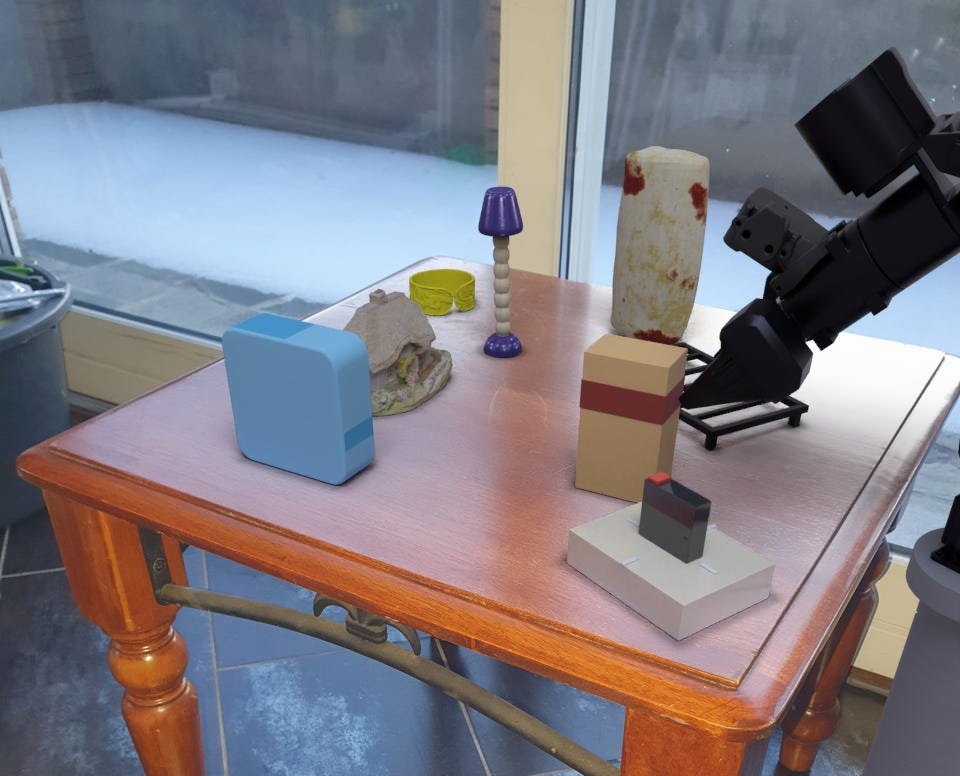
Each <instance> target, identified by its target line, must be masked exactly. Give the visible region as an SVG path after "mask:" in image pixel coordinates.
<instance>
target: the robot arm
mask: <svg viewBox="0 0 960 776" xmlns="http://www.w3.org/2000/svg"><path fill="white" fill-rule="evenodd" d="M793 126H794V128H795V129H796V130H797V132H798V133H799V135H800V136H801V138H802V139H803V141H804V143H805V144H806V145H807V146H808V148H809V149H810V151H811V152H812V154H813V155H814V157H815V158H816V160H817V161H818V162H819V164H820V165H821V167H822V169H823V170H824V171H825V173H826V174H827V175H828V177H829V178H830V180H831V181H832V182H833V184H834V185H835V188H836V189H837V190H838V191H839V193H840V194H841V195H842V197H844V196H847V195H848V194H849V193H851V192H852V194H853V195H854V197H855V198H858V197H860V196H861V195H863V197H864V198H865V200H869V199H870V198H871V197H873V196H874V195H875V196H876V194H877V193H879V192H880V191H882V190H883V189H884V188H886V187H887V186H889V185H890V184H891V183H892V182H894V181H895V180H897V178H899V177H901V176H902V175H903V174H904V173H905V172H907V170H909V169H910V168H912V167H913V166H914V167H915V169H916V171H917V172H918V173H916V174H914V175H913V176H912V177H911V178H909V179H908V180H906V181H905V182H904V183H902V184H901V185H900V186H899V187H897V188H896V189H894V190H893V191H892V192H890V193H889V194H888V195H886V196H885V197H884V198H882V199H881V200H880V201H878V202H877V203H876V204H875V205H873V206H871V208H869V209H868V210H866V211H865V212H864V213H862V214H861V215H860V216H858V217H857V218H855V219H854V220H853V218H851V219H849V221H846V220H845V219H842V220H841V221H840V222H839V223H837V224H836V225H835V226H833V227H832V228H830V229H829V230H828V229H827V228H825V227H824V226H823V225H821V223H819V222H817V221H816V220H815V219H814V218H813V217H812V216H811V215H809V214H807V212H805V211H803V210H802V209H800V208H798V207H797V206H796V205H794V204H793V203H791V202H789V201H788V200H787V199H785V198H784V197H782V196H780V195H779V194H777V193H776V192H775V191H773V190H772V189H769V188H766V187H763V186H759V187H758V188H756V189H755V190H754V191H753V192H752V193H750V194H749V195H748V196H747V198H746V199H745V201H744V202H743V204H742V206H741V207H740V209H739V211H738V213H737V214H736V216H735V217H734V218H733V219H732V220H731V223H730V226H729V227H728V229H727V230H726V232H725V234H724V235H723V237H722V240H723V243H724V244H725V245H726V246H727V247H728V248H730V249H731V250H733V251H734V252H735V253H739V252H741V253H742V254H744V255H745V256H747V257H748V258H749V259H751V260H753V261H755V262H756V263H758V264H759V265H760V266H762V267H763V268H765V269H767V270H768V271H770V272H769V274H768V275H766V278H765V282H764V287H763V288H764V289H763V294H762V298H761V297H756V298H754V299H753V300H752V301H750V302H749V303H747V304H746V305H745V306H744V307H742V308H741V309H740V310H739V311H737V312H736V313H735V314H734V315H733V316H732V317H730V319H729V320H728V321H727V322H726V323H725V324H724V326H723V327H721V329H720V331H719V336H718V339H719V342H720V348H718V349H719V350H717V351H716V352H715V353H714V355H713V357H714V361H713V362H712V363H711V364H710V365H709V366H708V367H707V368H706V369H705V370H704V371H703V372H700V373H699V375H698V376H697V377H696V379H694V381H692V382H691V383H692V384H691V385H690V386H689V387H688V388H687V389H686V390H685V391H684V392H683V393H682V394H681V395H680V397H679V402H680V403H681V404H682V406H683V407H684V408H683V409H685V410H695V409H701V408H703V409H704V408H709V407H715V406H720V405H721V406H722V405H729V404H739V403H743V402H748V401H758V400H763V401H764V402H770V403H772V404H774V405H777V404H778V403H781V402H780V401H782V400H783V399H785V398H786V397H788V396H791V395H793V394H795V393H796V392H797V391H799V390H800V389H801V387H802V385H803V383H804V382H805V380H806V379H807V377H808V375H809V374H810V372H811V367H812V362H813V358H814V352H813V351H812V350H811V348H810V346H809V345H808V344H807V343H808V342H811V341H813V342H814V344H815V345H816V346H817V348H818V349H819V351H820V352H823V351H824V350H825V349H827V348H828V347H830V346H831V345H833V344H834V343H835V341H836V340H837V338H838V337H839V335H840V333H842V332H844V331H845V330H847V329H848V328H850V327H851V326H852V325H854V324H856V323H857V322H858V321H861V320H862V319H863V318H865V317H866V316H867V315H869V314H870V313H871V314H872V316H873V317H875V316H877V315H879V314H880V313H881V312H883V311H884V310H886V309H887V308H888V307H889V305H890V304H891V302H892V299H893V298H894V297H896V296H897V295H899V294H900V293H902V292H903V291H905V290H906V289H908V288H909V287H910V286H913V285H914V284H915V283H917V282H919V281H920V280H921V279H923V278H924V277H926V276H927V275H929V274H930V273H932V272H934V270H936V269H938V268H939V267H941V266H942V265H944V264H946V262H948V261H949V260H951V259H953V258H954V257H956V256H958V255H959V254H960V182H959V183H957V184H955V185H954V184H953V182H952V181H951V180H950V179H949V178H948V176H947V175H949V176H952V177H955V178H959V179H960V110H958V111H956V112H953V113H941V114H939V115H938V116H937V115H936V113H935V111H933V109H932V107H931V106H930V104H929V103H928V101H927V100H926V98H925V97H924V95H923V94H922V92H921V91H920V89H919V88H918V86H917V85H916V83H915V81H914V80H913V79H912V77H911V75H910V72H909V70H908V66H907V64H906V61H905V59H904V58H903V56H902V54H901V53H900V52H899V51H898V49H897V47H896V46H889V47H888V48H887V49H885V50H884V51H883V52H882V53H881V54H880V55H878V56H877V57H876V58H875V59H874V60H873V61H872V62H870V63H869V64H868V65H867V66H865V67H864V68H863V69H862V70H861V71H859V73H857V74H856V75H855V76H854V77H853V78H851V77H849V78H847V79H846V80H845V81H843V82H842V83H841V84H839V85H838V86H837V87H836V88H834V89H833V90H832V91H831V92H830V93H828V95H826V96H825V97H824V98H823V99H822V100H820V101H819V103H817V104H816V105H815V106H814V107H813V108H811V109H810V110H809V111H807V113H806V114H804V115H803V116H802V117H801V118H800V119H799V120H797V122H795V124H793ZM957 453H958V456H959V458H960V439H959V441H958V450H957ZM944 527H945V528H944ZM944 527H943V528H944V531H943V534H942V537H941V543H942V544H944V546H942V547H940V548H938V549H936V550H934V551H933V552H932V553H931V556H930V558H931V560H933V561H935V562H937V563H939V564H941V565H943V566H945V567H947V568H949V569H951V570H953V571H955V572H957V573H959V574H960V493H958V494H956V495H955V496H954V498H953V501H952V504H951V508H950V510H949V513H948V516H947V520H946V522H945V525H944Z"/></svg>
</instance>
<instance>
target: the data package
mask: <svg viewBox="0 0 960 776" xmlns="http://www.w3.org/2000/svg"><path fill="white" fill-rule="evenodd" d="M221 347H222V353H223V359H224V366H225V372H226V378H227V384H228V385H227V386H228V390H229V398H230V403H231V409H232V410H231V411H232V416H233V423H234V427H235V428H234V430H235V435H236V441H237V444H238V445H237V446H238V448H240V451H241V452H242V453H243V455H245V456H246V457H247V458H248V459H250V460H252V461H255V462H257V463H261V464H264V465H267V466H271V467H274V468H278V469H280V470H285V471H288V472H291V473H293V474H298V475H301V476H304V477H308V478H311V479H314V480H317V481H321V482H324V483H327V484H331V485H335V486H336V485H337V486H338V485H341V484H343V483H344V482H346V481H347V480H349V479H350V478H352V477H353V476H354V475H356V474H357V473H359V472H360V471H362V470H363V469H365V468H366V467H368V466H369V465H370V464H372V463H373V461H374V459H375V455H376V452H375V451H376V448H375V438H374V437H375V435H374V420H373V416H372V404H371V389H370V374H369V359H368V351H367V348H366V346H365V344H364V342H363V341H362V339H361V338H360V337H359V336H357V335H356V334H354V333H352V332H348V331H343V329H339V328H334V327H330V326H325V325H321V324H316V323H313V322H312V323H311V322H307V321H303V320H298V319H294V318H290V317H285V316H281V315H276V314H272V313H269V312H267V313H266V312H262V313H260V314H257V315H255V316H253V317H251V318H248V319H246V320H244V321H242V322H240V323H237V324H234V325H233V326H230V327H228V328H226V329H225V330H224V332H223V333H222V337H221Z"/></svg>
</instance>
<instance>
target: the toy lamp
mask: <svg viewBox="0 0 960 776" xmlns="http://www.w3.org/2000/svg"><path fill="white" fill-rule="evenodd" d="M477 229H478V233H479V234H480V235H483V236H485V237H492V245H493V247H494V248H493V250H492V258H493V261H494V264H493V268H492V271H493V272H492V273H493V275H494V278H493V289H494V295H493V302H494V305H495V308H494V318H495V323H494V324H495V325H494V330H495V332H494V333H492V334H490V335H488V337H487V338H486V340H485V342H484V345H483V352H484V353H485V354H486V355H488V356H490V357H495V358H512V357H516V356H517V355H519V354H521V352H522V351H523V347H522V342H521V340H520V339H519V337H518V336H516V334H514V333H512V332H511V329H512V324H511V322H510V319H511V315H512V314H511V308H510V304H511V295H510V288H511V281H510V278H509V276H510V273H511V272H510V270H511V269H510V263H509V260H510V249H509V245H510V237H512V236H516V235H518V234H520V233H522V232H523V230H524V222H523V218H522V214H521V210H520V205H519V202H518V198H517V195H516V192H515V189H514V188H513V187H510V186H493V187H489V188H488V189H486V190H485V193H484V196H483V200H482V205H481V211H480V215H479V219H478V225H477Z"/></svg>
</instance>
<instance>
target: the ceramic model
mask: <svg viewBox="0 0 960 776" xmlns="http://www.w3.org/2000/svg"><path fill="white" fill-rule="evenodd" d="M368 298H369V299H368V300H369V301H368V302H366V303H364V304H362V306H358V308H356V310H355V312H354V314H353V316H352V317H351V319H350V320H349V321H348V322H347V323H346V325H345V326H344V327H343V329H342V330H343V331H348V332H352V333H354V334H356V335H357V336H359V337H360V338H361V339H362V341H363V342H364V344H365V346H366V348H367V351H368V359H369V374H370V389H371V404H372V417H373V416H374V417H375V416H376V417H379V416H380V417H381V416H383V417H384V416H390V415H396V414H402V413H407V412H409V411H412V410H414V409H416V408H417V407H419V406H420V405H422V404H423V403H425V402H426V401H428V400H430V399H431V398H432V397H434V396H435V395H436V394H437V393H438V392H440V391H441V390H442V389H443V388H444V387H445V386H446V385H447V384H448V381H449V377H450V376H451V373H452V370H453V367H454V364H453V359H452V354H451V351H448V350H446V349H440V348H436V347H435V346H432V343H433V342H434V341H436V340H437V337H436V334H435V333H436V332H435V331H434V329H433V327H432V324H431V323H430V320H429V319H428V317H427V314H425V313H424V311H423V309H422V308H421V307H420V305H419V304H418V303H417V302H415V301H412V300H410V297H408V296H407V295H406V293H405V292H402V291H396V290H395V291H392V292H389V293H386V291H385V290H384V289H382V288H381V289H380V288H377V289H376V290H374V291H370V293H368Z"/></svg>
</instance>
